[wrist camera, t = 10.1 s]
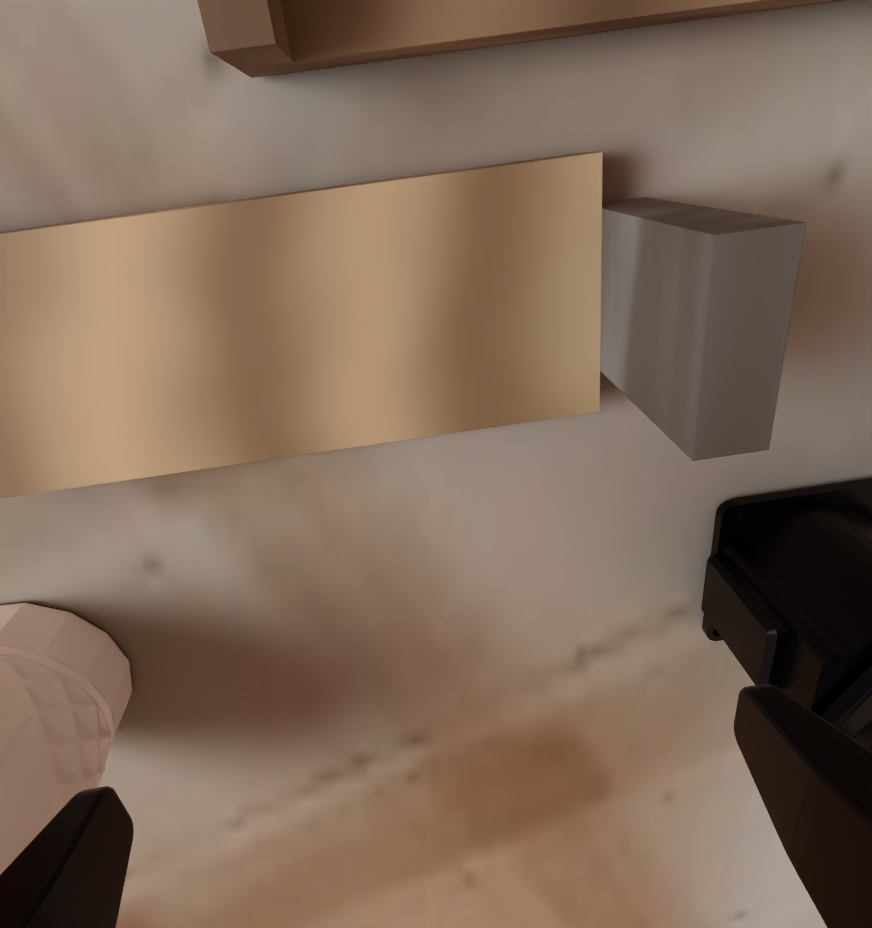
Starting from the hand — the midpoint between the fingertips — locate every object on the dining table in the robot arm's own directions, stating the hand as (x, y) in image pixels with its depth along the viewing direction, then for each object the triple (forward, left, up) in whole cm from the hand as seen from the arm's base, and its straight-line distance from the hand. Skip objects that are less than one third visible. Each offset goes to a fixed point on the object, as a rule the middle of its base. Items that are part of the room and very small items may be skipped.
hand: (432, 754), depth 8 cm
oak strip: (+3, -4, -12) cm, 13 cm away
